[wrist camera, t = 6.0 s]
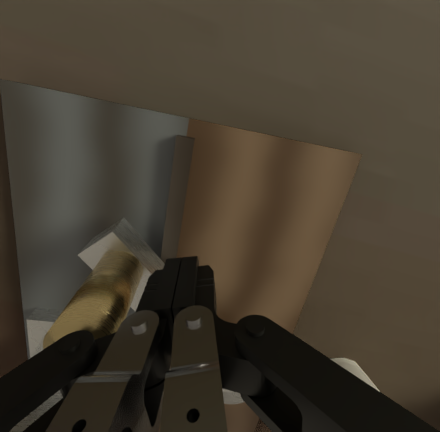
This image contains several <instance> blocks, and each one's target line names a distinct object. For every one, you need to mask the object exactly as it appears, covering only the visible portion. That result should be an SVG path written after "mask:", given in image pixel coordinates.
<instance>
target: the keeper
mask: <svg viewBox="0 0 440 432" xmlns="http://www.w3.org/2000/svg"><path fill="white" fill-rule="evenodd" d="M62 311H63V310H58V309H48V308H39V307H37V308H36V309H35V310H34V311H33V313H32V314H31V315H30V316H29V317H28V318H27V319H26V320H27V331H28V341H29V351H30V358H31V357H33V356H34V355H36V354H37V353H39V352H41V351H42V350H44V348H43V339H44V337H45V335H46V333H47V332H48V331H49V329H50V328H51V326H52V325H53V324H54V322H55V321H56V320H57V318H58V317H59V315H60V314H61V313H62ZM30 358H29V359H30ZM62 398H63V397H62V394H61V392H60V390H59V391H58V392H56V393H55V394H54V395H53V396H51V397H50V398H49V399H48V400H46V401H45V402H44V403H43V404H41V405H40V406H39V407H38V408H36V409H35V410H34V411H33V412H31V413H30V414H29V415H28V416H26V417H25V418H24V419H23V420H21V421H20V422H19V423H18V424H16V425H15V426H14V427H13V428H12V429H11V431H10V432H22V431H24V430H25V429H26V428H27V427H28V426H30V425H31V424H32V423H33V422H34V421H36V420H37V419H38V418H39V417H40V416H42V415H43V414H44V413H45V412H46V411H48V410H49V409H50V408H51V407H52V406H54V405H55V404H56V403H57V402H58V401H60V400H61V399H62Z"/></svg>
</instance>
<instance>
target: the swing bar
mask: <svg viewBox="0 0 440 432" xmlns="http://www.w3.org/2000/svg"><path fill="white" fill-rule="evenodd" d="M78 256H79V257H80V258H81V259H82V260H83V261H84V262H85V263H86V264H87V265H88V266H89V267H90V268H91V269H92V271H91V273H90V274H89V276H88V277H87V278H86V280H85V281H84V282H83V284H82V285H81V287H80V288H79V289H78V291H77V292H76V293H75V295H74V296H73V298H72V299H71V300H70V302H69V303H68V304H67V306H66V307H65V309H64V310H63V311H62V313H61V314H60V315H59V317H58V318H57V320H56V321H55V322H54V324H53V325H52V326H51V328H50V329H49V331H48V332H47V333H46V335H45V337H44V339H43V348H44V349H45V348H47V347H48V346H50V345H51V344H53V343H54V342H56V341H57V340H59V339H60V338H62V337H63V336H65V335H67V334H69V333H72V332H75V331H80V330H86V331H89V332H91V333H92V334H93V337H94V339H98V338H101V337H104V336H107V335H110V334H113V333H115V332H117V330H118V328H119V326H120V324H121V323H122V321H123V320H124V319H125V318H126V316H127V314H128V311H129V309H130V307H131V308H132V309H133V310H134V311H135V312H136V309H137V307H138V304H139V301H140V299H141V296H142V294H143V292H144V289H145V286H146V283H147V281H148V278H149V276H150V275H151V274H152V273H154V272H155V271H156V270H162V269H163V268H164V265H165V264H164V263H163V262H162V260H161V259H160V258H159V257H158V256H157V255H156V253H155V252H154V251H153V250H152V249H151V248H150V247H149V245H148V244H147V243H146V242H145V241H144V240H143V239H142V237H141V236H140V235H139V234H138V233H137V232H136V231H135V229H134V228H133V227H132V226H131V225H130V224H129V223H128V221H127V220H126V219H125V218H122V219H121V220H119V221H118V222H116V223H115V224H113V225H112V226H110V227H109V228H107V229H106V230H104V231H103V232H101V233H100V234H98V235H97V236H95V237H94V238H92V240H91V241H90V242H89V243H88V244H87V245H86V246H85V247H84V248H83V249H82V250H81V252H80V253H79V254H78ZM222 390H223V399H224V404H239V403H243V402H244V401H243V399H242V397H241V395H240V393H237V392H234V391H230V390H226V389H222Z"/></svg>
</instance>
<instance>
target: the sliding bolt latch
mask: <svg viewBox="0 0 440 432" xmlns="http://www.w3.org/2000/svg"><path fill="white" fill-rule="evenodd" d="M0 91H1V101H2V111H3V120H4V130H5V140H6V150H7V159H8V169H9V179H10V189H11V199H12V208H13V218H14V228H15V238H16V247H17V257H18V267H19V277H20V287H21V296H22V306H23V316H24V326H25V335H26V345H27V355H28V359H29V358H30V351H29V341H28V331H27V320H26V319H27V318H28V317H29V316H30V315H31V314H32V313H33V311H34V310H35V309H36V308H37V307H39V308H48V309H58V310H64V309H65V307H66V306H67V304H68V303H69V302H70V300H71V299H72V298H73V296H74V295H75V293H76V292H77V291H78V289H79V288H80V287H81V285H82V284H83V282H84V281H85V280H86V278H87V277H88V276H89V274H90V273H91V271H92V269H91V268H90V267H89V266H88V265H87V264H86V263H85V262H84V261H83V260H82V259H81V258H80V257H79V256H78V254H79V253H80V252H81V250H82V249H83V248H84V247H85V246H86V245H87V244H88V243H89V242H90V241H91V240H92V238H94V237H95V236H97V235H98V234H100V233H101V232H103V231H104V230H106V229H107V228H109V227H110V226H112V225H113V224H115V223H116V222H118V221H119V220H121V219H122V218H125V219H126V220H127V221H128V223H129V224H130V225H131V226H132V227H133V228H134V229H135V231H136V232H137V233H138V234H139V235H140V236H141V237H142V239H143V240H144V241H145V242H146V243H147V244H148V245H149V247H150V248H151V249H152V250H153V251H154V252H155V253H156V255H157V256H158V257H159V258H160V259H161V260H162V262H163V263H164V264H165V262H166V259H169V258H180V257H190V256H198V260H199V266H204V265H209V266H210V267H211V268H212V270H213V272H214V281H215V290H216V303H217V316H218V317H219V318H221V319H222V320H224V321H227V322H230V323H236V324H237V322H238V321H239V320H240V319H242V318H243V317H245V316H248V315H262V316H265V317H267V318H269V319H270V320H272V321H274V322H275V323H277V324H278V325H280V326H281V327H283V328H284V329H286V330H287V331H289V332H290V333H292V334H293V332H294V329H295V326H296V324H297V321H298V319H299V316H300V314H301V311H302V308H303V306H304V303H305V301H306V298H307V296H308V293H309V290H310V288H311V285H312V283H313V280H314V278H315V275H316V273H317V270H318V267H319V265H320V262H321V260H322V257H323V255H324V252H325V249H326V247H327V244H328V242H329V239H330V237H331V234H332V231H333V229H334V226H335V224H336V221H337V219H338V216H339V214H340V211H341V208H342V206H343V203H344V201H345V198H346V196H347V193H348V190H349V188H350V185H351V183H352V180H353V178H354V175H355V172H356V170H357V167H358V165H359V162H360V160H361V157H362V154H357V153H353V152H349V151H344V150H339V149H334V148H330V147H325V146H320V145H315V144H310V143H306V142H301V141H296V140H291V139H286V138H282V137H277V136H272V135H267V134H262V133H258V132H253V131H248V130H243V129H239V128H234V127H229V126H224V125H219V124H215V123H210V122H205V121H200V120H195V119H191V118H186V117H181V116H176V115H171V114H167V113H162V112H157V111H152V110H148V109H143V108H138V107H133V106H128V105H124V104H119V103H114V102H109V101H104V100H100V99H95V98H90V97H85V96H80V95H76V94H71V93H66V92H61V91H56V90H52V89H47V88H42V87H37V86H33V85H28V84H23V83H18V82H13V81H8V80H2V79H0ZM133 313H135V311H134V310H133V309H132V308H131V307H130V309H129V311H128V314H127V316H126V318H127V317H128V316H129V315H131V314H133ZM170 367H171V366H170ZM224 407H225V415H226V423H227V431H228V432H255V429H256V427H257V424H258V421H259V419H260V418H259V417H258V416H257V415H256V414H255V413H254V411H253V410H252V409H251V408H250V407H249V406H248V405H247V404H246V403H245V402H243V403H239V404H224ZM159 432H160V427H159Z"/></svg>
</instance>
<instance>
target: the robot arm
mask: <svg viewBox="0 0 440 432" xmlns="http://www.w3.org/2000/svg"><path fill="white" fill-rule="evenodd" d="M170 366H171V367H170ZM222 389H226V390H230V391H234V392H237V393H240V395H241V397H242V399H243V401H244V402H245V403H246V404H247V405H248V406H249V407H250V408H251V409H252V410H253V411H254V413H255V414H256V415H257V416H258V417H259V418H260V419H261V420H262V421H263V422H264V423H265V424H266V425H267V426H268V428H269V429H270V430H271V431H272V432H440V431H438V430H437V429H435V428H434V427H432V426H430V425H429V424H427V423H426V422H424V421H423V420H421V419H420V418H418V417H417V416H415V415H414V414H412V413H411V412H409V411H408V410H406V409H405V408H403V407H402V406H400V405H399V404H397V403H396V402H394V401H393V400H391V399H390V398H388V397H387V396H385V395H384V394H382V393H381V392H379V391H378V390H376V389H375V388H373V387H372V386H370V385H369V384H367V383H366V382H364V381H363V380H361V379H360V378H358V377H357V376H355V375H354V374H352V373H350V372H349V371H347V370H346V369H344V368H343V367H341V366H340V365H338V364H337V363H335V362H334V361H332V360H331V359H329V358H328V357H326V356H325V355H323V354H322V353H320V352H319V351H317V350H316V349H314V348H313V347H311V346H310V345H308V344H307V343H305V342H304V341H302V340H301V339H299V338H298V337H296V336H295V335H293V334H292V333H290V332H289V331H287V330H286V329H284V328H283V327H281V326H280V325H278V324H277V323H275V322H274V321H272V320H270V319H269V318H267V317H265V316H262V315H248V316H245V317H243V318H242V319H240V320H239V321H238V322H237V324H236V323H230V322H227V321H224V320H222V319H221V318H219V317H218V316H217V303H216V290H215V281H214V272H213V270H212V268H211V267H210V266H209V265H204V266H199V260H198V256H190V257H180V258H169V259H166V262H165V265H164V268H163V269H162V270H156V271H155V272H154V273H152V274H151V275H150V276H149V278H148V281H147V283H146V286H145V289H144V292H143V294H142V296H141V299H140V301H139V304H138V307H137V309H136V312H135V313H133V314H131V315H129V316H128V317H127V318H125V319H124V320H123V321H122V323H121V324H120V326H119V328H118V330H117V332H115V333H113V334H110V335H107V336H104V337H101V338H98V339H94V337H93V334H92V333H91V332H89V331H86V330H80V331H75V332H72V333H69V334H67V335H65V336H63V337H62V338H60V339H59V340H57V341H56V342H54V343H53V344H51V345H50V346H48V347H47V348H45V349H44V350H42V351H41V352H39V353H37V354H36V355H34V356H33V357H31V358H30V359H28V360H27V361H25V362H24V363H22V364H21V365H19V366H18V367H16V368H15V369H13V370H12V371H10V372H9V373H7V374H6V375H4V376H3V377H1V378H0V432H10V431H11V429H12V428H13V427H14V426H15V425H16V424H18V423H19V422H20V421H21V420H23V419H24V418H25V417H26V416H28V415H29V414H30V413H31V412H33V411H34V410H35V409H36V408H38V407H39V406H40V405H41V404H43V403H44V402H45V401H46V400H48V399H49V398H50V397H51V396H53V395H54V394H55V393H56V392H58V391H59V390H60V392H61V394H62V397H63V398H62V399H61V400H60V401H58V402H57V403H56V404H55V405H54V406H52V407H51V408H50V409H49V410H48V411H46V412H45V413H44V414H43V415H42V416H40V417H39V418H38V419H37V420H36V421H34V422H33V423H32V424H31V425H30V426H28V427H27V428H26V429H25V430H24V431H22V432H159V427H160V432H228V431H227V423H226V415H225V407H224V399H223V390H222Z"/></svg>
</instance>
